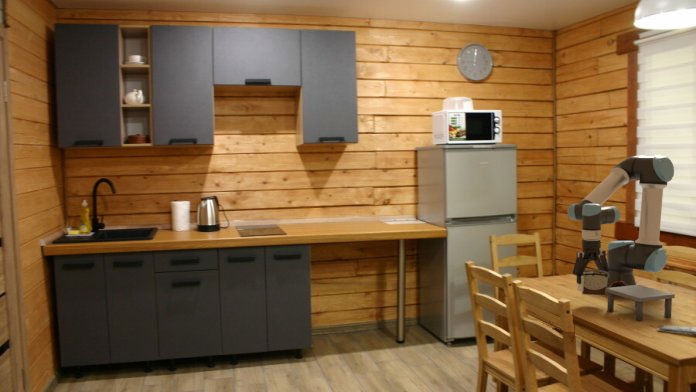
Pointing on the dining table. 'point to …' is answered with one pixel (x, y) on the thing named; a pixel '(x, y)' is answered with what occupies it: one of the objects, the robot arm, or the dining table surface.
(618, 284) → the pottery mug
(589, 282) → the food container
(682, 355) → the dining table surface
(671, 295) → the small gray table
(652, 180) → the robot arm
